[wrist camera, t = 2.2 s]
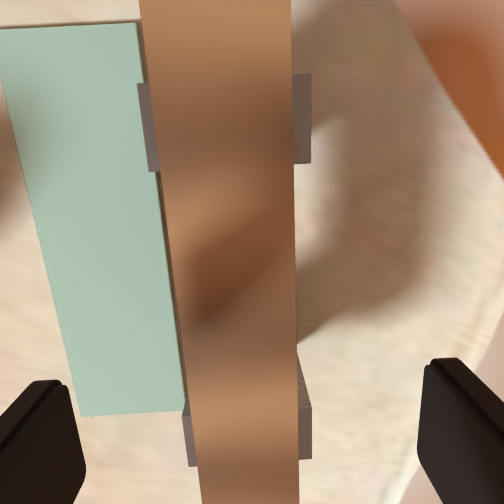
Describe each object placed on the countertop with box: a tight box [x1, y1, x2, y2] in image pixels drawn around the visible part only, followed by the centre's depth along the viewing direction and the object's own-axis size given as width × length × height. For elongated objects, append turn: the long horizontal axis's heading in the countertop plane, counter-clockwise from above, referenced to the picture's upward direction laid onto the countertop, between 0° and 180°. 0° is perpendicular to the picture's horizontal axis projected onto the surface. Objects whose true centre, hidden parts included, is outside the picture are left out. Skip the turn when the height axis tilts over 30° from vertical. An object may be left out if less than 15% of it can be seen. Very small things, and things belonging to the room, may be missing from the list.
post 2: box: [182, 354, 312, 467], centre depth 21 cm, size 3×6×10 cm, turn 93°
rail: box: [139, 0, 299, 504], centre depth 14 cm, size 22×4×4 cm, turn 3°
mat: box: [0, 23, 186, 417], centre depth 23 cm, size 26×8×1 cm, turn 3°
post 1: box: [137, 74, 311, 172], centre depth 17 cm, size 3×6×10 cm, turn 93°
